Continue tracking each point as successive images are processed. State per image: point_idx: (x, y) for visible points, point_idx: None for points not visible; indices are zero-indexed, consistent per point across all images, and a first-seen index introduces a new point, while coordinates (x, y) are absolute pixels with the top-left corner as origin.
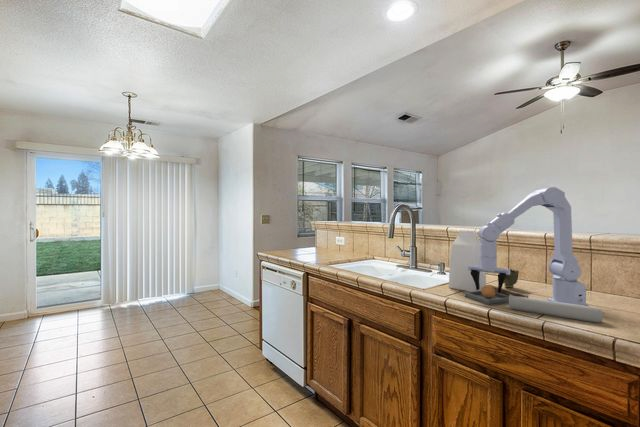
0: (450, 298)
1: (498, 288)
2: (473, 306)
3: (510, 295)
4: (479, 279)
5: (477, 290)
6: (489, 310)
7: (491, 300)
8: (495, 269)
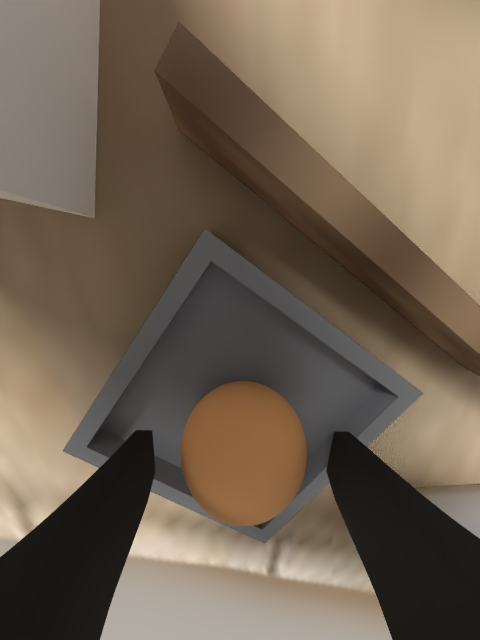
0: (35, 502)
1: (349, 524)
2: (197, 559)
3: None
4: None
5: (87, 168)
6: (274, 571)
7: (277, 527)
8: None
